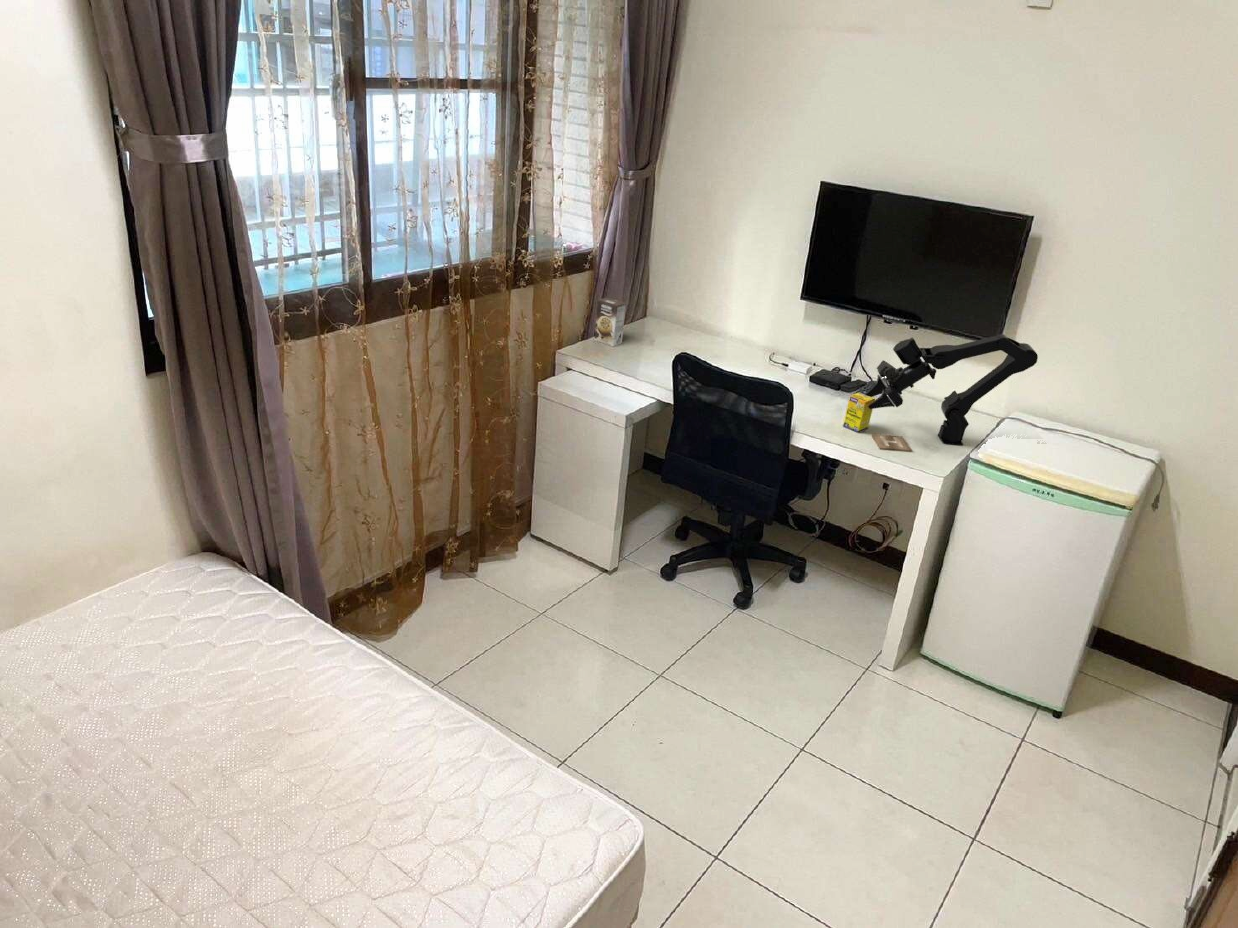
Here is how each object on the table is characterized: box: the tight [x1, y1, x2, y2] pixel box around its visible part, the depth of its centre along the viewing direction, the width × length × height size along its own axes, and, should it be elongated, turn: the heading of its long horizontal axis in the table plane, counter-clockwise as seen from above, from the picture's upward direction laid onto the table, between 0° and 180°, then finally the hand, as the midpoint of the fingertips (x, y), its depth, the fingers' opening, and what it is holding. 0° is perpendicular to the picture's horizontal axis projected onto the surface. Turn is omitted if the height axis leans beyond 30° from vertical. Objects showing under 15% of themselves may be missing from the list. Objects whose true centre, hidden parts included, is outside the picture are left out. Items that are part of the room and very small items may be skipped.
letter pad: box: [870, 433, 912, 453], centre depth 279 cm, size 10×10×1 cm
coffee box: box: [594, 296, 627, 347], centre depth 335 cm, size 9×6×16 cm
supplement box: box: [842, 391, 876, 434], centre depth 285 cm, size 6×6×11 cm
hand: (867, 402), depth 283 cm, fingers open, 9 cm apart
